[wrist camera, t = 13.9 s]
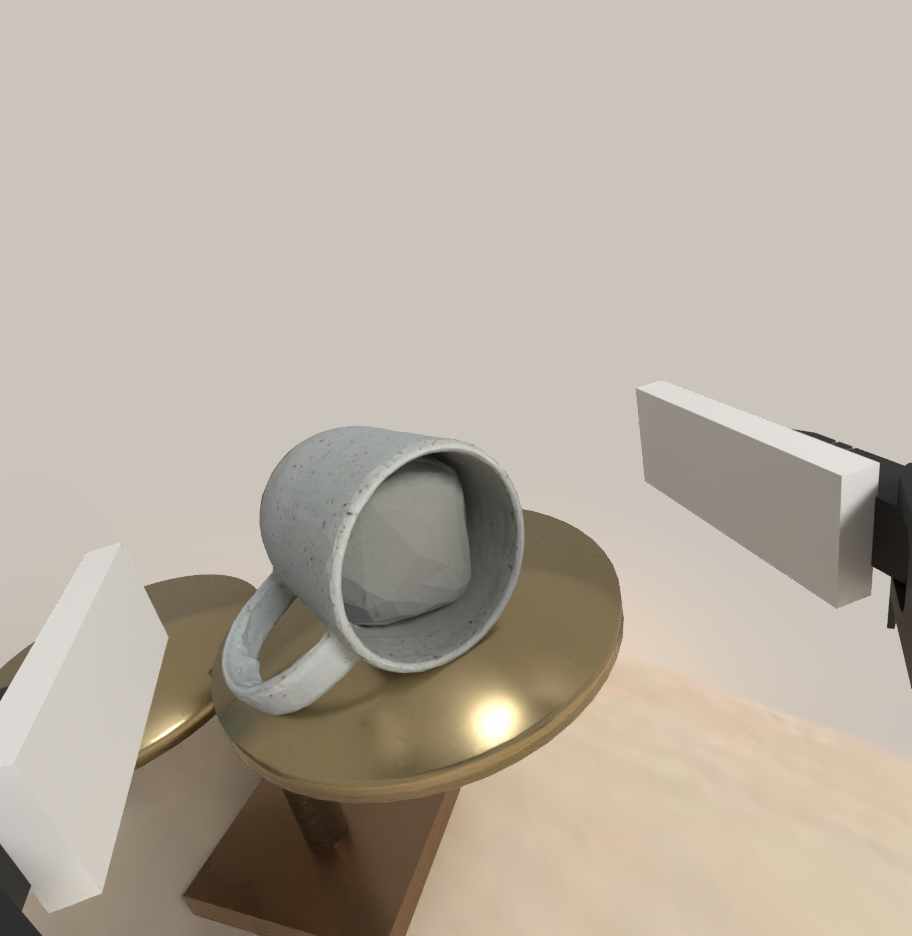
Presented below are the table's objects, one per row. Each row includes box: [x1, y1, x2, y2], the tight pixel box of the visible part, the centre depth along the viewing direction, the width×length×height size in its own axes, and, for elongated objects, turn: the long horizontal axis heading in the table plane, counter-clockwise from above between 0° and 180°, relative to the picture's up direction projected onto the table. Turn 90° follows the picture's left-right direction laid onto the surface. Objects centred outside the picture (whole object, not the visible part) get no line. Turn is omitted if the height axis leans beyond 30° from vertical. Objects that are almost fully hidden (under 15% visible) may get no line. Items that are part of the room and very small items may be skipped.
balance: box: [0, 509, 624, 936], centre depth 32 cm, size 35×16×18 cm, turn 70°
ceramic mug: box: [222, 426, 524, 716], centre depth 22 cm, size 11×8×8 cm
